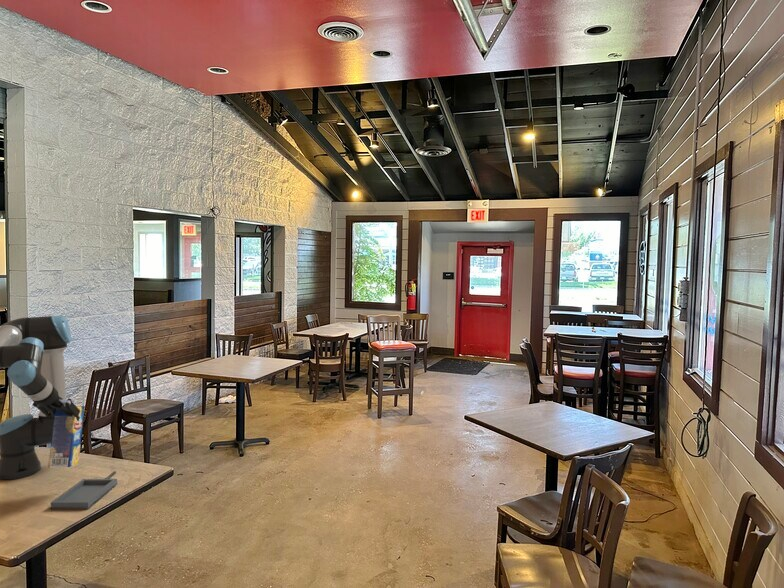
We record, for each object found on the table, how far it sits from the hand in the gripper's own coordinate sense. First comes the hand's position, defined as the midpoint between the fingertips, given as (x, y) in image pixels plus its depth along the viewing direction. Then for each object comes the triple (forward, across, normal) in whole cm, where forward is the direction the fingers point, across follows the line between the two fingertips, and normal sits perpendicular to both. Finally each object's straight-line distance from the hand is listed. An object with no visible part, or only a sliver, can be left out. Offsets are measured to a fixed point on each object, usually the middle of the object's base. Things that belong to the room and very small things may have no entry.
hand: (73, 423), depth 202 cm
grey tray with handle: (+16, +9, -20) cm, 27 cm away
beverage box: (+5, 0, -15) cm, 16 cm away
